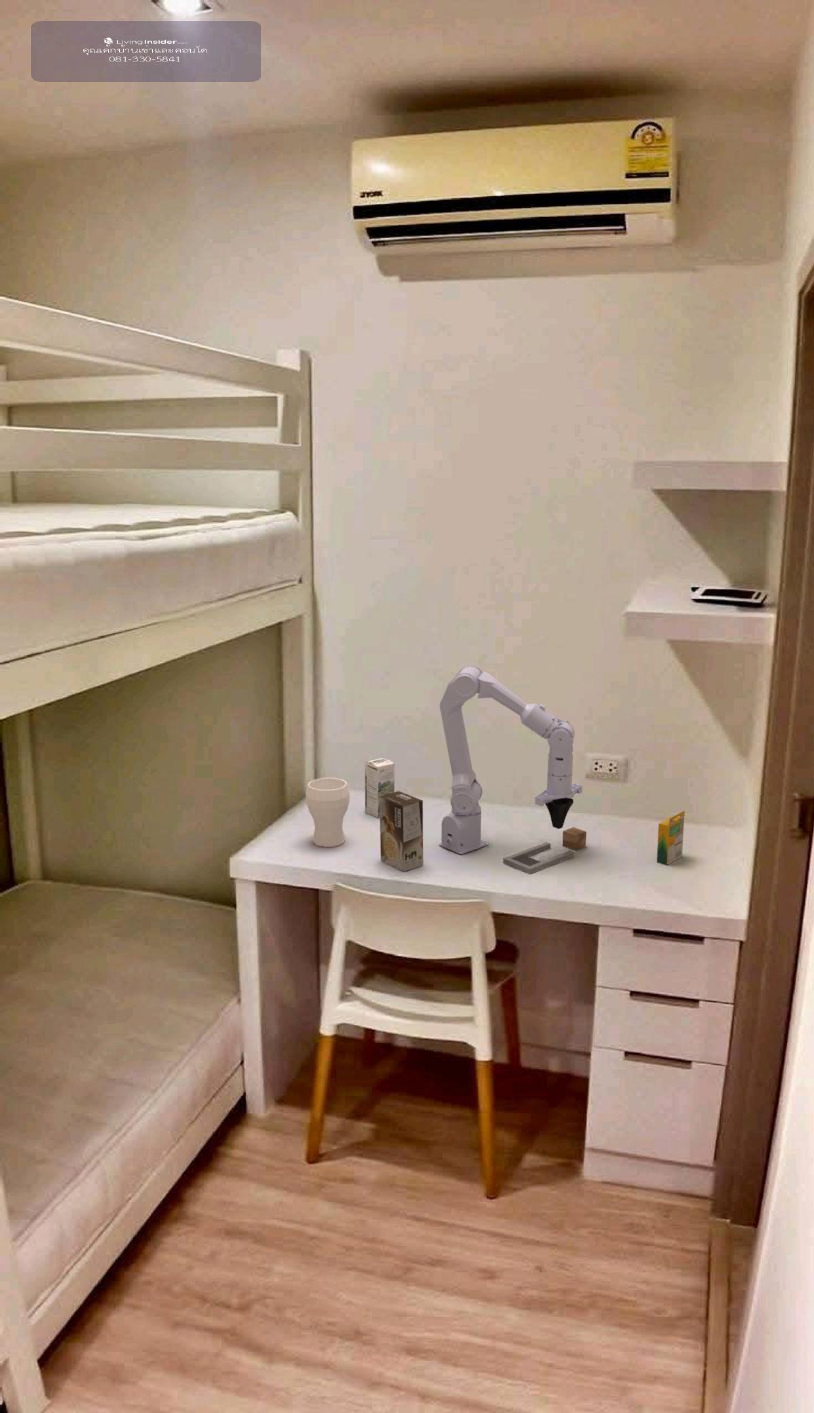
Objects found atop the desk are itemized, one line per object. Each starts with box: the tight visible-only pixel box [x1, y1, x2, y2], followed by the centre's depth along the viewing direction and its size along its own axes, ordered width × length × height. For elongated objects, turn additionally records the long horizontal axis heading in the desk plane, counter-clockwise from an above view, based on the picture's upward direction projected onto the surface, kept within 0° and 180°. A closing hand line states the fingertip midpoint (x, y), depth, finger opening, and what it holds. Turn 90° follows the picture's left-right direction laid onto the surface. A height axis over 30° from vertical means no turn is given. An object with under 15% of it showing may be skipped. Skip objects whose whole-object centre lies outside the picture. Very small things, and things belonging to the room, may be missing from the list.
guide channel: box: [502, 841, 574, 875], centre depth 237 cm, size 15×8×1 cm, turn 131°
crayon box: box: [656, 810, 686, 866], centre depth 236 cm, size 7×3×12 cm, turn 137°
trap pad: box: [518, 856, 541, 866], centre depth 235 cm, size 4×5×1 cm
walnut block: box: [561, 826, 587, 852], centre depth 245 cm, size 4×4×4 cm
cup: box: [305, 777, 350, 848], centre depth 247 cm, size 11×11×15 cm
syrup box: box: [364, 757, 396, 819], centre depth 266 cm, size 6×6×14 cm
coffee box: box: [379, 790, 424, 872], centre depth 234 cm, size 9×6×16 cm
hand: (557, 827), depth 240 cm, fingers closed
